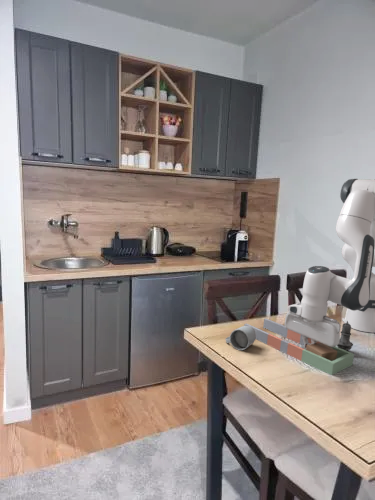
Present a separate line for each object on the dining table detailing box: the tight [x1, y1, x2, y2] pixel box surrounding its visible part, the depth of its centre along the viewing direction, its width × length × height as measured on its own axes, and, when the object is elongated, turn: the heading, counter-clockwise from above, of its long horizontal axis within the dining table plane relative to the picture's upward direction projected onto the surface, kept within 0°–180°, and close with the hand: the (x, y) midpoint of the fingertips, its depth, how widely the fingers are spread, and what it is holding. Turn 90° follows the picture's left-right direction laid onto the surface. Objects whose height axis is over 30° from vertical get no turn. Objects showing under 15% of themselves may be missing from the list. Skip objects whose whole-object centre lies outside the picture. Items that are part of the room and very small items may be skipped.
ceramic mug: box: [225, 325, 257, 351], centre depth 128 cm, size 11×8×8 cm
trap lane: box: [243, 318, 355, 376], centre depth 129 cm, size 13×38×4 cm, turn 38°
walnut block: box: [305, 343, 337, 361], centre depth 119 cm, size 7×7×5 cm
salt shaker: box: [336, 321, 354, 352], centre depth 127 cm, size 6×6×12 cm
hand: (308, 348), depth 124 cm, fingers closed
